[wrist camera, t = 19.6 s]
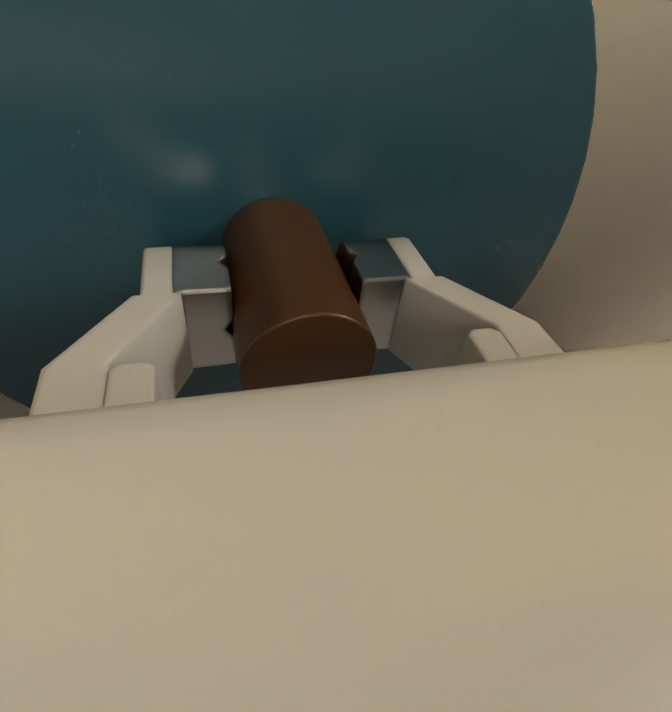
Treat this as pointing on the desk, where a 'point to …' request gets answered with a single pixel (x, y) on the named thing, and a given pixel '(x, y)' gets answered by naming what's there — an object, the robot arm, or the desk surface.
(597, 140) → the desk surface
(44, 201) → the lid
